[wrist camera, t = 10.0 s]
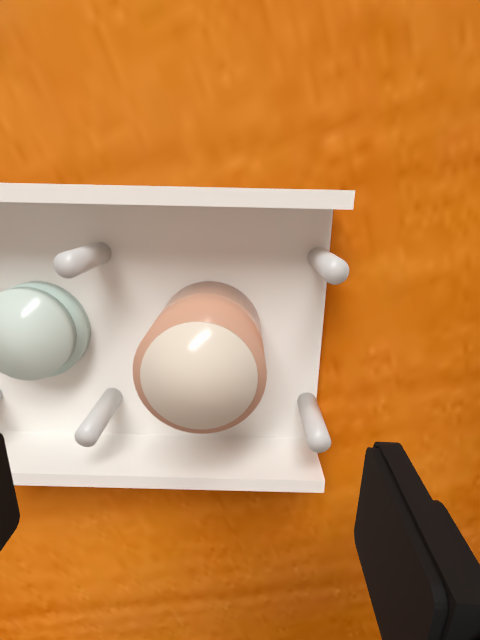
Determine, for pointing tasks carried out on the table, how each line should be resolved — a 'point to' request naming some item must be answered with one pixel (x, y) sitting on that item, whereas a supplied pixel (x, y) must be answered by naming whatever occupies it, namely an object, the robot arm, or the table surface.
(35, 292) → the mint green dome knob
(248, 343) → the tumbler
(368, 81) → the table surface
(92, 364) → the rack
